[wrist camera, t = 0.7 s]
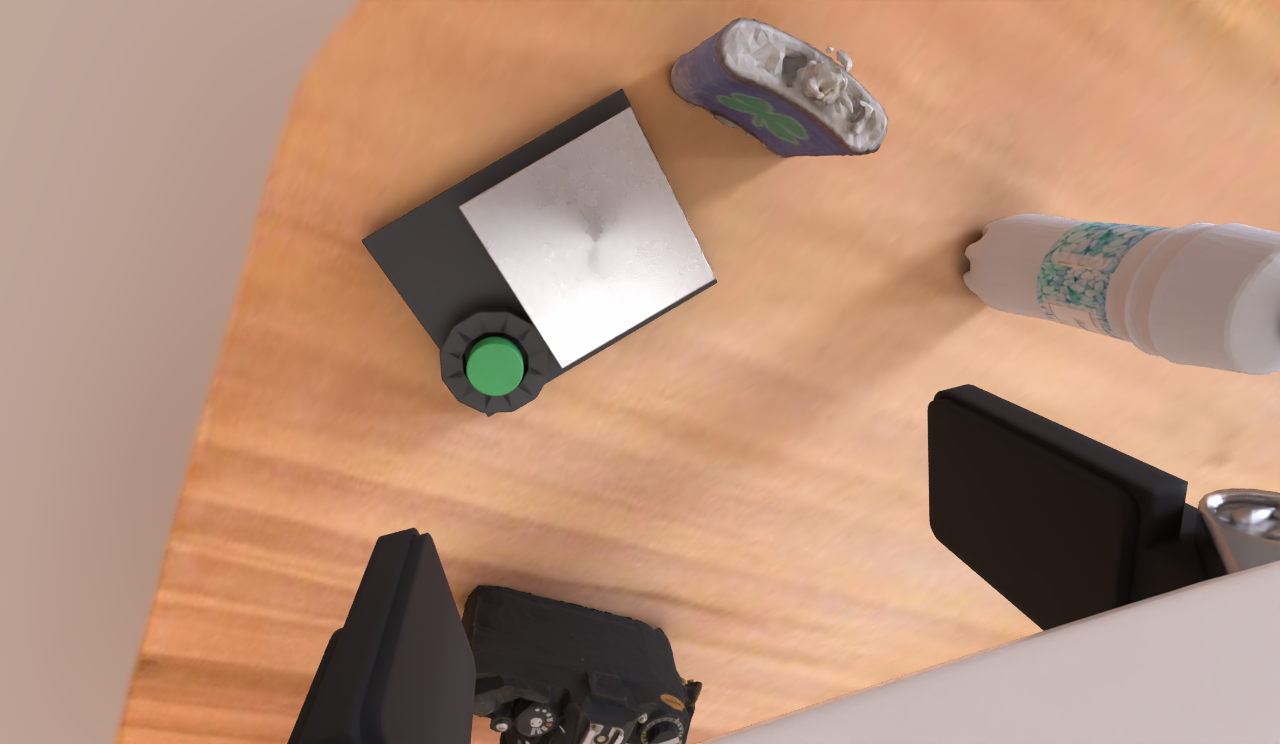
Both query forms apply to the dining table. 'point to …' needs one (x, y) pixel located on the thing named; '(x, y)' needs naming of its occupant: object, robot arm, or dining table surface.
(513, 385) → the tare button
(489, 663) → the film camera
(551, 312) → the pan
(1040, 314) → the bottle
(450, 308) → the scale
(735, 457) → the dining table surface
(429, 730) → the robot arm
